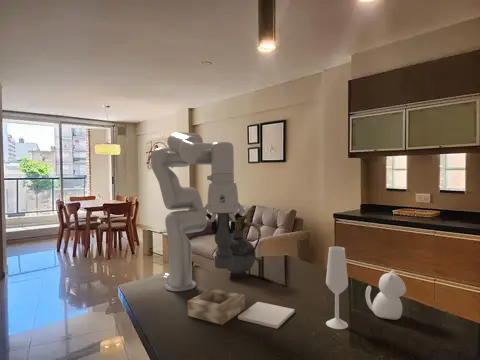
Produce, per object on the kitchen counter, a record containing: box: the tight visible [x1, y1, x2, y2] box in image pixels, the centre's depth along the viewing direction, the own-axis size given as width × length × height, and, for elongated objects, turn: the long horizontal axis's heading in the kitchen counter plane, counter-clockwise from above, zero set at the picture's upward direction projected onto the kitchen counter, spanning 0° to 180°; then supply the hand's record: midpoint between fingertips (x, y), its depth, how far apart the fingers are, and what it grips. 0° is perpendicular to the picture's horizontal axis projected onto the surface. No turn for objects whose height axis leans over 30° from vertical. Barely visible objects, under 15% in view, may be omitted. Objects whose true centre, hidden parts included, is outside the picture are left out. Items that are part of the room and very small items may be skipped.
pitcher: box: [226, 210, 262, 279], centre depth 159 cm, size 11×19×30 cm, turn 63°
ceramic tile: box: [237, 301, 295, 329], centre depth 116 cm, size 14×14×1 cm
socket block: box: [187, 288, 246, 326], centre depth 119 cm, size 14×14×5 cm
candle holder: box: [214, 194, 233, 270], centre depth 118 cm, size 6×6×25 cm
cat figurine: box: [364, 269, 407, 321], centre depth 115 cm, size 9×12×15 cm
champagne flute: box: [325, 245, 349, 330], centre depth 109 cm, size 7×7×24 cm
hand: (223, 232), depth 118 cm, fingers closed on candle holder, 5 cm apart
